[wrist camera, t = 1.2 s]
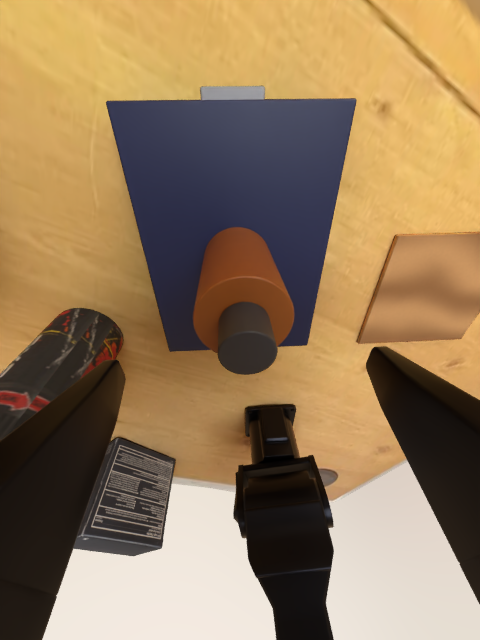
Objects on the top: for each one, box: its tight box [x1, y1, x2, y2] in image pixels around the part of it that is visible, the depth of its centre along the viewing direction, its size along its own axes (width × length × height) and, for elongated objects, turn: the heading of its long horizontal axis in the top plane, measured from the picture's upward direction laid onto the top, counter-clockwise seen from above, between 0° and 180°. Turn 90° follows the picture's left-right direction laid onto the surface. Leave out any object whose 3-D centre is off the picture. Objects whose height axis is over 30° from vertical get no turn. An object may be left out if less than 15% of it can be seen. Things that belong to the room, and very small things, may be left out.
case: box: [106, 86, 356, 352], centre depth 17 cm, size 17×12×3 cm
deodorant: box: [0, 308, 123, 441], centre depth 16 cm, size 6×6×15 cm
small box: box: [73, 438, 176, 556], centre depth 32 cm, size 11×6×10 cm, turn 41°
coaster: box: [357, 232, 480, 344], centre depth 22 cm, size 11×11×1 cm
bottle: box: [193, 227, 294, 375], centre depth 12 cm, size 4×4×9 cm
